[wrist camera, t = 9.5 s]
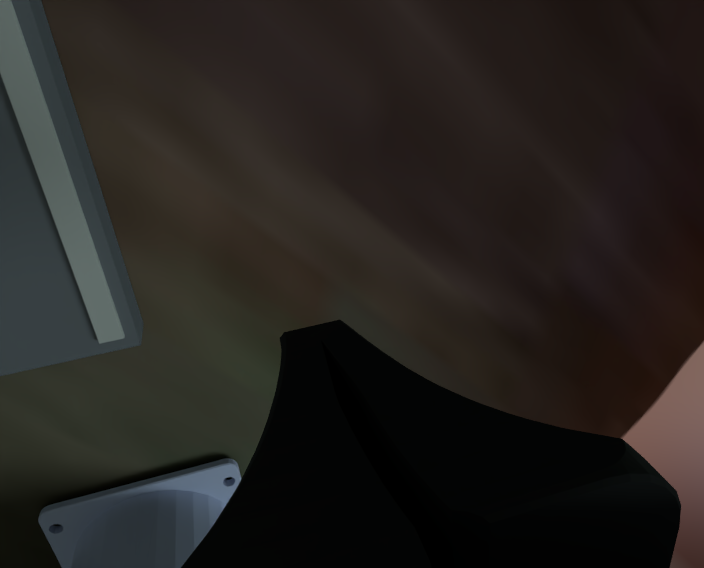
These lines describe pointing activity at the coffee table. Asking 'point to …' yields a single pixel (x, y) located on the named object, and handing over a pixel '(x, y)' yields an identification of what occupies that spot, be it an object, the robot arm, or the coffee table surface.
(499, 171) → the coffee table surface
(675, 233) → the coffee table surface
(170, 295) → the coffee table surface
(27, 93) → the breaker board
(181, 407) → the coffee table surface
